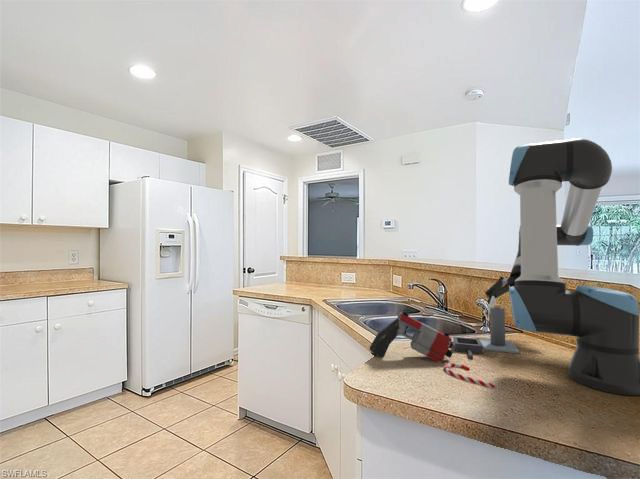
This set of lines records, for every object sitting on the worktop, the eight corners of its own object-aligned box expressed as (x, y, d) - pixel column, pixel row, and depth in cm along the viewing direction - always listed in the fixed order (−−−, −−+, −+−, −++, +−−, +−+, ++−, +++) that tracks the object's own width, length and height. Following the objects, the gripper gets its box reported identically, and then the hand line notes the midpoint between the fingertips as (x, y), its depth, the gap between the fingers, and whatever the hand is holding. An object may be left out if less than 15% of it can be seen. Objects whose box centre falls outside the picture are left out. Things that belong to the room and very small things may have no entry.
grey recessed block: (486, 360, 96) (485, 352, 96) (456, 357, 99) (456, 349, 99) (479, 346, 110) (479, 338, 110) (453, 343, 112) (453, 336, 112)
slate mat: (519, 353, 103) (519, 351, 103) (484, 350, 106) (484, 348, 106) (510, 342, 114) (510, 340, 114) (478, 339, 117) (478, 337, 117)
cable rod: (506, 346, 107) (505, 305, 107) (491, 345, 108) (491, 305, 109) (503, 342, 111) (502, 303, 112) (489, 341, 113) (488, 303, 113)
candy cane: (486, 387, 77) (436, 365, 90) (486, 393, 77) (436, 370, 90) (507, 381, 80) (456, 361, 94) (507, 386, 80) (456, 365, 93)
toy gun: (436, 387, 95) (460, 341, 94) (369, 350, 99) (391, 306, 98) (434, 380, 100) (456, 336, 99) (370, 345, 104) (391, 303, 103)
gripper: (564, 279, 120) (553, 328, 109) (492, 274, 138) (476, 315, 128) (560, 265, 116) (548, 314, 106) (486, 262, 135) (470, 303, 125)
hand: (509, 315), depth 117 cm, fingers open, 13 cm apart
